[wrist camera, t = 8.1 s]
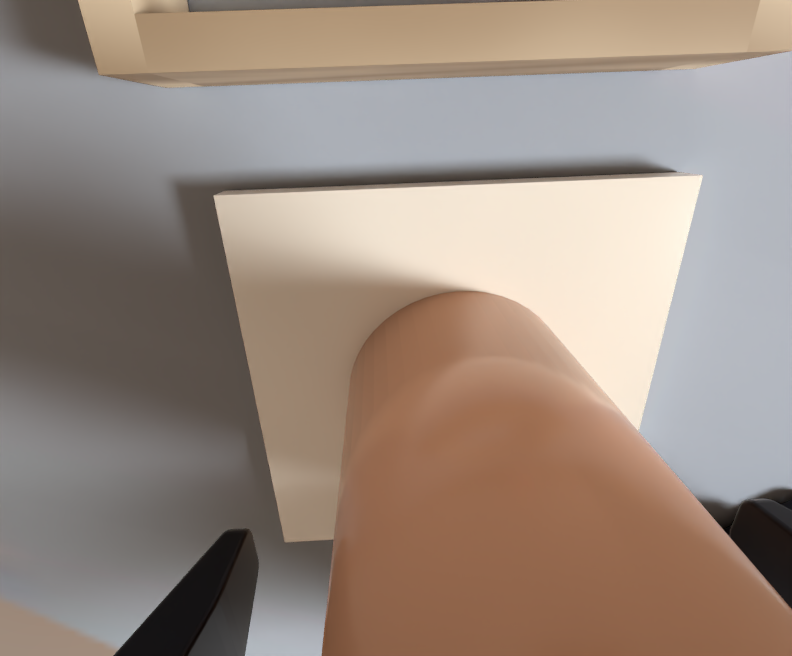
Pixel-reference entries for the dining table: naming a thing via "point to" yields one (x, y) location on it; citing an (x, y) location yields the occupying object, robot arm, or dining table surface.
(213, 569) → the robot arm
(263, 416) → the tile
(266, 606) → the dining table surface
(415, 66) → the wooden square frame
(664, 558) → the pot
